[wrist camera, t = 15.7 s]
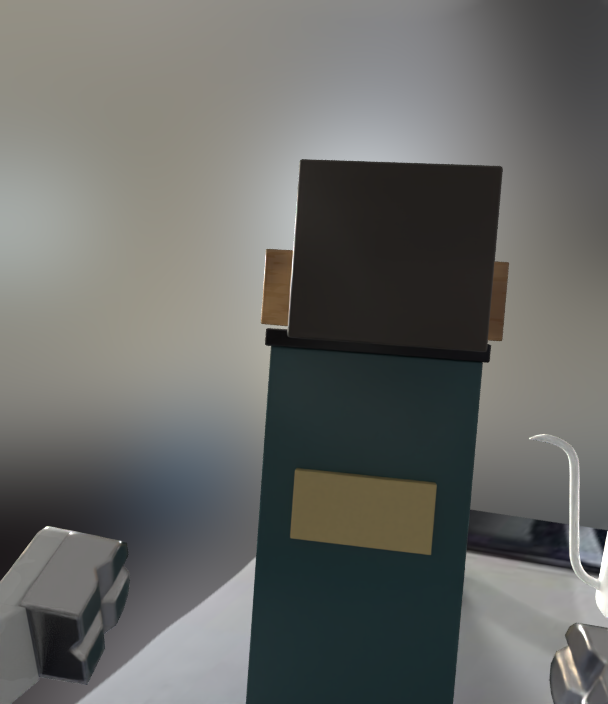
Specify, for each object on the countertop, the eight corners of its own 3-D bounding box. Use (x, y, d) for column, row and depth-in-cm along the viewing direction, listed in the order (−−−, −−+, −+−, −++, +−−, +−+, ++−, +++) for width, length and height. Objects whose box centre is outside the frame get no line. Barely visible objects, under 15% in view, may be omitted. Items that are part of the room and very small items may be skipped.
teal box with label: (234, 765, 32) (265, 328, 30) (264, 671, 40) (288, 329, 39) (452, 803, 30) (492, 344, 29) (433, 697, 39) (463, 342, 38)
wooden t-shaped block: (168, 328, 12) (178, 153, 12) (288, 331, 31) (293, 261, 31) (624, 362, 11) (643, 170, 11) (466, 344, 30) (472, 272, 29)
